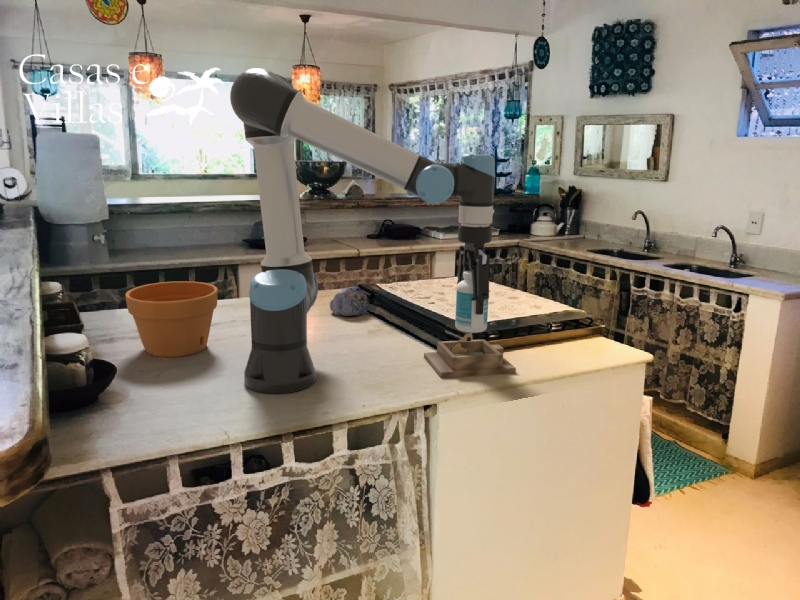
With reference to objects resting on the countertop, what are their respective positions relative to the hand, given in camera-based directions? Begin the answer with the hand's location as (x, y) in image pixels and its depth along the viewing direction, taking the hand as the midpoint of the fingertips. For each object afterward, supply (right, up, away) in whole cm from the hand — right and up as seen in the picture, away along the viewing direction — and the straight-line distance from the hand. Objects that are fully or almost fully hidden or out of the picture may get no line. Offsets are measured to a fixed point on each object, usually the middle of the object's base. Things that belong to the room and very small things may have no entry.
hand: (471, 322), depth 150 cm
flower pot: (-72, -7, +10) cm, 73 cm away
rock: (-33, +1, +46) cm, 56 cm away
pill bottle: (0, -2, 0) cm, 2 cm away
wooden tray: (0, -10, +3) cm, 10 cm away
